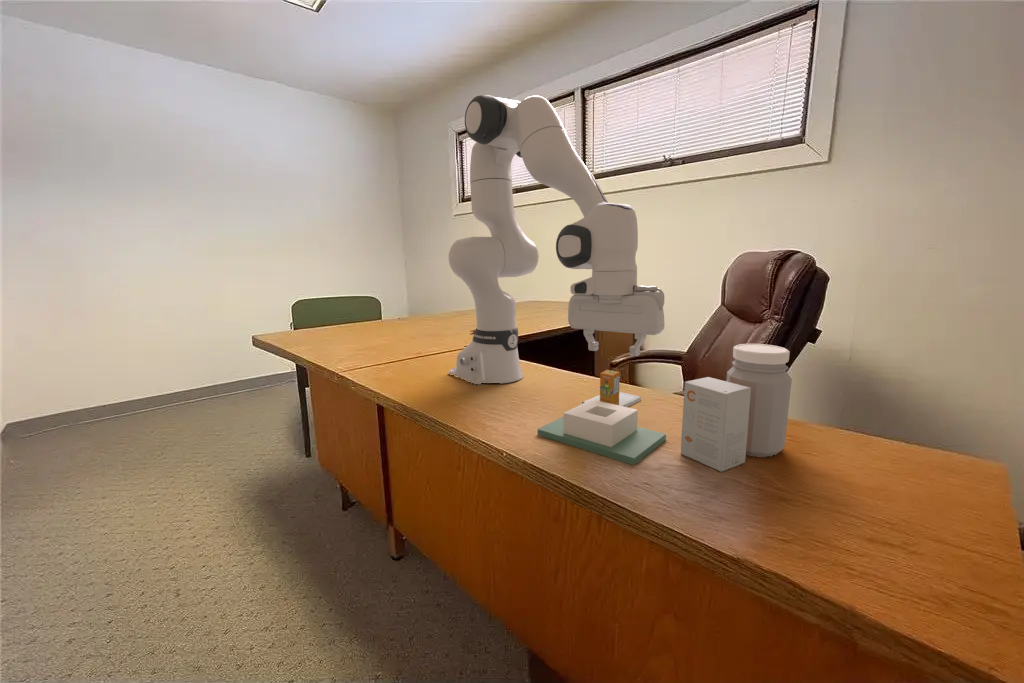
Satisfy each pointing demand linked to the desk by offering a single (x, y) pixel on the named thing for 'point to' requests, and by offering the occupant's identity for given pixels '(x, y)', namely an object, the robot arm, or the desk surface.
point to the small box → (715, 422)
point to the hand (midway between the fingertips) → (613, 352)
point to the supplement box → (609, 387)
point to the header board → (616, 452)
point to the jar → (763, 394)
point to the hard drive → (622, 399)
